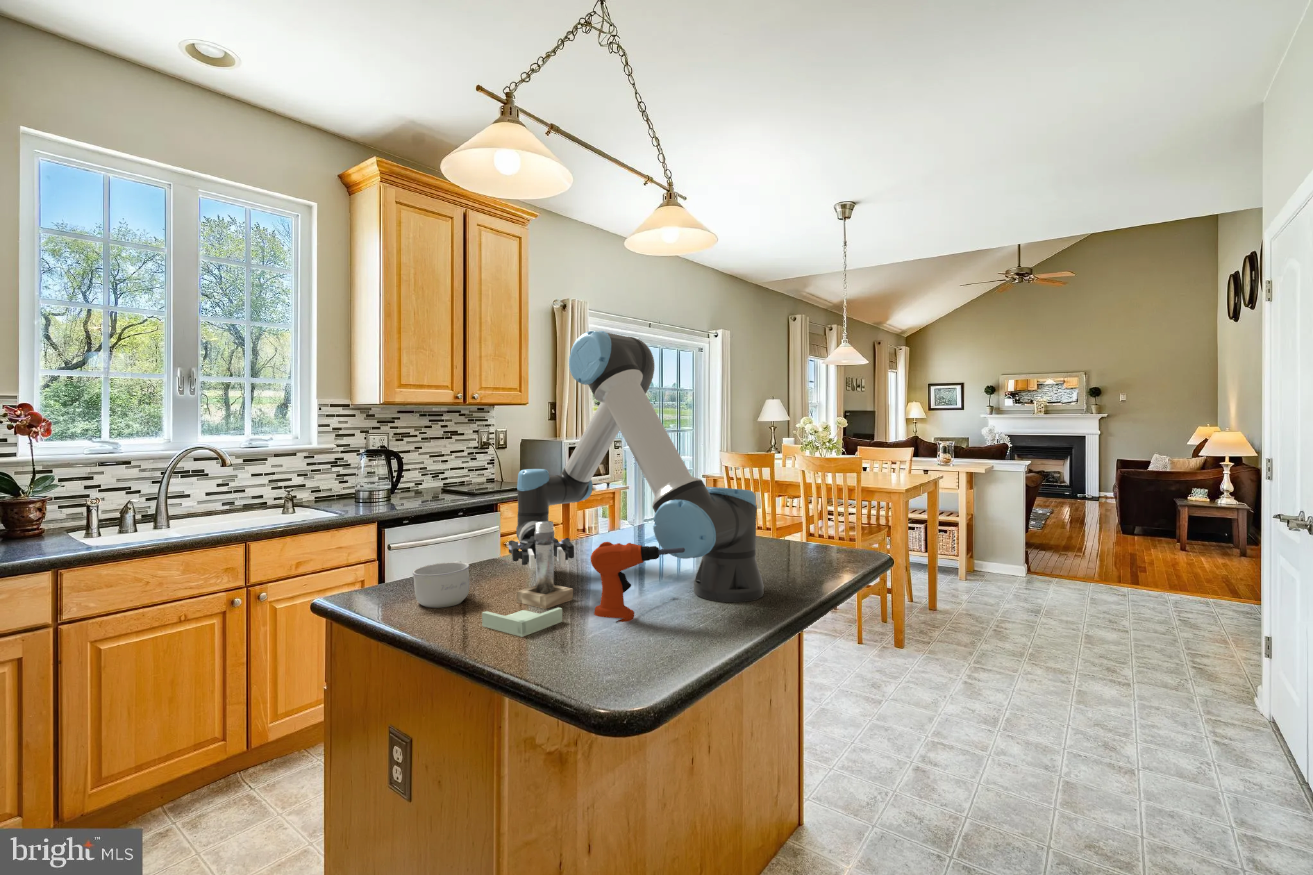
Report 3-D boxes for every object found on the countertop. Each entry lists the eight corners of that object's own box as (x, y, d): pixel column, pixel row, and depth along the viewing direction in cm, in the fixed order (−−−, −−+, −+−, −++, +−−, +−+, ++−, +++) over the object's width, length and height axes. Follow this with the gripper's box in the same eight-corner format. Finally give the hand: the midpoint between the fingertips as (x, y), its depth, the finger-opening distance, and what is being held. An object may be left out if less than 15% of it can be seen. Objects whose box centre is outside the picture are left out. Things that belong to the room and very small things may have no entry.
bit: (559, 599, 127) (558, 521, 127) (545, 604, 124) (544, 524, 124) (544, 596, 129) (544, 520, 129) (530, 601, 126) (530, 522, 126)
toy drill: (691, 617, 114) (681, 536, 114) (592, 625, 116) (582, 546, 116) (693, 609, 118) (684, 531, 118) (598, 617, 121) (588, 541, 121)
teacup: (446, 616, 119) (446, 574, 118) (400, 610, 122) (400, 570, 122) (488, 597, 132) (488, 559, 132) (446, 592, 135) (446, 556, 135)
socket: (572, 602, 128) (573, 588, 128) (545, 612, 121) (545, 597, 121) (544, 596, 132) (544, 582, 132) (516, 605, 126) (516, 591, 126)
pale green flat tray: (562, 625, 113) (562, 608, 113) (522, 641, 105) (521, 622, 105) (523, 616, 119) (523, 599, 119) (482, 630, 111) (482, 612, 111)
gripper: (576, 553, 146) (594, 577, 124) (496, 558, 141) (499, 583, 119) (576, 522, 146) (594, 539, 124) (495, 525, 141) (499, 544, 119)
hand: (547, 561), depth 121 cm, fingers open, 5 cm apart
